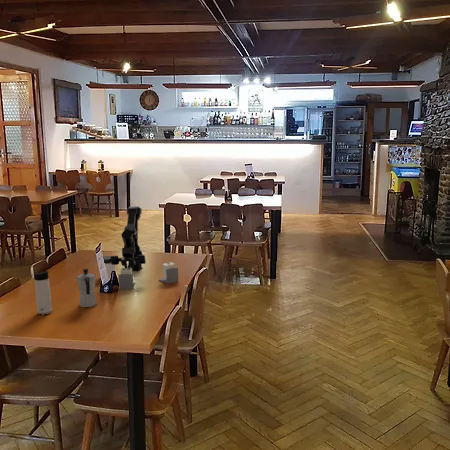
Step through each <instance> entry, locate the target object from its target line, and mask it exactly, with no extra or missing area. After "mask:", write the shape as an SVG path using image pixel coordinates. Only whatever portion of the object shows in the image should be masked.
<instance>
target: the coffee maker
mask: <svg viewBox="0 0 450 450" xmlns="http://www.w3.org/2000/svg"><path fill="white" fill-rule="evenodd" d="M82 271H83V273H81V274H78V275H77V277H76V281H77V286H78V290H79V291H80V292H79V293H80V294H79V304H80V305H79V304H78V305H79V307H80V306H82V307H81V308H83V307H89V308H93V306H94V307H95V305H96V306H97V305H98V302H97V299H96V294H95V293H96V292H95V287H96V274H93V273H89V268H84V269H82Z"/></svg>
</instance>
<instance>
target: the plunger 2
mask: <svg viewBox="0 0 450 450" xmlns="http://www.w3.org/2000/svg"><path fill="white" fill-rule="evenodd" d="M175 267H176V263H174V262H172V261H171V262H167V263H162V278H163V280H166V281H167V279H166V270H167V269H171V268H175Z"/></svg>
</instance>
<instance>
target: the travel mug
mask: <svg viewBox="0 0 450 450" xmlns="http://www.w3.org/2000/svg"><path fill="white" fill-rule="evenodd" d="M33 278H34V279H33V280H34V282H33V283H34V292H35V302H36V310H37V312H36V313H37V315H38V314H47V313H50V312H51V311H53V309H52V300H51V299H52V298H51V289H50V287H51V286H50V279H49V271H47V270H44V271H39V272H36V273H33ZM51 313H52V312H51ZM51 313H50V314H51Z"/></svg>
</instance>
